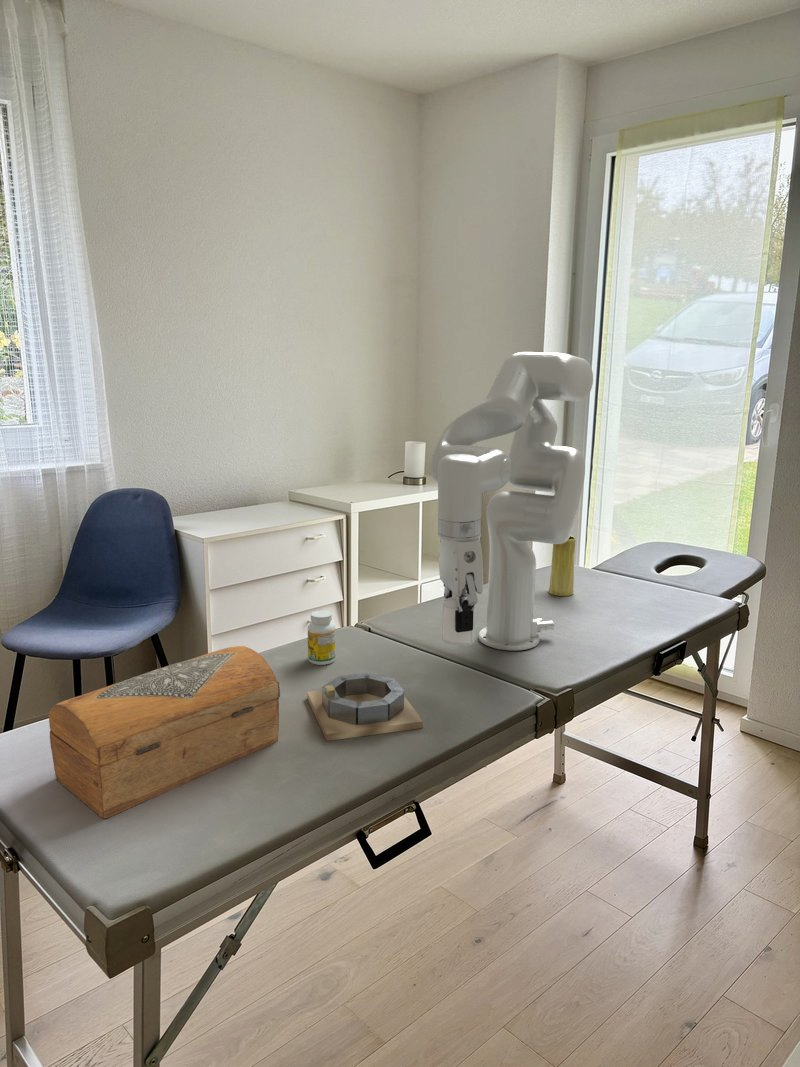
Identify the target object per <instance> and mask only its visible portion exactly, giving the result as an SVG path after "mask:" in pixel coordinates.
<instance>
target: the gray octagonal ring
mask: <svg viewBox="0 0 800 1067" xmlns="http://www.w3.org/2000/svg"><path fill="white" fill-rule="evenodd" d="M321 690H322V705H323V707H324V709H325V711H326V713H327V716H328V717H330V718H331V719H335V720H338V721H342V722H346V723H350V724H353V725H357V724H358V725H364V724H372V723H380V722H387V721H388V720H389V721H390V720H391V719H392V718H393V717H395V716H396V715H397V714H398V713H399V712H401V711H402V710H403V709H404V696H405V691H404V688H402V686H401V685H400V683H399V682H398V681H397V679H396V678H393V677H388V676H384V675H380V674H375V673H371V672H364V673H363V672H362V673H356V674H355V673H353V674H344V675H339V676H337V677H335V678H333V679H331V681H329V682H327V683H326V684H325V685H323V686H322V687H321ZM360 694H370V695H374V696H378V697H382V699H381V700H374V701H366V702H355V701H351V700H347V699H343V698H344V697H345V696H351V695H360Z"/></svg>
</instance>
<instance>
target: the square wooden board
mask: <svg viewBox="0 0 800 1067" xmlns="http://www.w3.org/2000/svg"><path fill="white" fill-rule="evenodd" d="M306 698H307V701H308V703H309V705H310V707H311V709H312V712H313V714H314V716H315V719H316V721H317V723H318V725H319V727H320V730H321V732H322V734H323V736H324V739H325V741H326V742H328V741H329V742H330V741H337V740H343V739H344V740H345V739H353V738H360V737H365V736H366V737H367V736H374V735H380V734H388V733H396V732H403V731H410V730H417V729H418V730H419V729H424V721H423V720H422V718H421V717H420V715H419V714H418V713H417V711H416V710H415V708H414V707H413V705H412V704H411V703H410V701H409V700H408V698H407V697H406V696H405V695H404V709H403V710H402V711H401V712H399V713H398V714H397V715H396V716H395V717H393V718H392V719H391V720H390V721H389V720H388V721H387V722H380V723H372V724H364V725H358V724H357V725H353V724H350V723H346V722H342V721H338V720H335V719H331V718H330V717H328V716H327V713H326V711H325V709H324V707H323V705H322V689H321V690H320V689H319V690H312V691H306ZM343 699H347V700H351V701H355V702H366V701H374V700H381V699H382V697H378V696H374V695H370V694H360V695H351V696H345V697H344V698H343Z"/></svg>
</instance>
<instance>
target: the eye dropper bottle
mask: <svg viewBox="0 0 800 1067" xmlns="http://www.w3.org/2000/svg"><path fill="white" fill-rule="evenodd" d="M465 592H467V591H466V590H462V593H465ZM466 599H467V597H462V602H463V601H464V600H466ZM455 610H457V598H456V594H455V593H453V592H452V597H450V598H448V599H444V601H443V603H442V642H443V643H445V644H447V645H452V646H456V647H457V646H460V647H468V646H469V647H470V646H472V645H473V644H474V642H475V636H476V632H475V630H476V629H475V628H476V625H475V624H476V622H475V621H476V604H475V605H474V611H473V630H472V631H466V632H459V633H458V632H456V631H455Z"/></svg>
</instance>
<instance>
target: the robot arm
mask: <svg viewBox="0 0 800 1067" xmlns="http://www.w3.org/2000/svg"><path fill="white" fill-rule="evenodd" d="M593 383H594V373H593V368H592V366H591V364H590V363H589V361H588V360H587V359H585V358H582V357H578V356H575V355H572V354H569V353H562V352H540V351H539V352H538V351H537V352H534V351H521V352H515V353H513V354H511V355H509V356H508V357H506V359H505V360H504V361H503V363H502V365H501V367H500V369H499V371H498V373H497V375H496V377H495V379H494V381H493V383H492V385H491V387H490V389H489V391H488V393H487V394H486V397H485V399H484V400H483V401H482V402H481V403H480V404H477V405H475V406H473V407H471V408H469V409H468V410H467V411H465V412H463V413H462V414H460V415H459V416H457V417H456V418H455V419H453V420H452V421H451V422H450V423H449V424H448V425H447V426H446V427H445V428H444V431H443V432H442V433H441V435H440V437H439V439H438V441H437V443H436V445H435V447H434V450H433V452H432V455H431V458H430V459H431V460H430V466H429V469H430V470H429V471H430V474H431V477H432V479H433V480H434V481H435V482H436V483H437V537H439V538H440V542H439V543H440V544H439V552H438V553H439V555H438V556H439V560H438V561H439V562H438V563H439V564H438V569H439V572H438V574H439V578H440V580H441V582H442V583H443V587H444V590H443V597H444V600H446V599H448V598H450V597H452V592H453V593H455V594H456V598H457V610H455V631H456V632H458V633H459V632H466V631H472V630H473V611H474V605H475V606H476V604H477V603H478V602H479V599H478V594H479V595H480V594H483V592H484V568H483V567H484V566H483V565H484V563H483V551H482V545H481V544H482V543H481V539H480V538H481V537H482V529H483V528H482V526H483V525H482V524H483V523H482V522H483V521H482V520H483V518H482V517H483V493H489V492H495V491H499V490H500V489H502V488H503V487H504V486H506V484H507V483H508V484H509V486H511V487H514V488H516V489H521V490H525V492H524V491H516V490H515V491H514V490H511V491H509V490H507V491H500V492H498V493H496V494H494V495H493V496H491V498H490V499H489V501H488V502H487V507H486V523H487V529H488V539H489V560H488V561H489V565H488V566H489V567H488V585H487V586H488V587H487V588H488V591H487V607H486V608H487V614H486V626H485V627H483V628H482V629H480V631H479V633H478V639H479V640H478V641H479V642H481V643H482V644H484V645H486V646H487V647H489V648H493V649H496V650H502V651H512V652H513V651H524V650H529V649H532V648H534V647H536V646H538V645H539V643H540V634H539V633H541V631H552V630H554V629H555V623H554V621H553V620H545V621H544V620H543V618H534V607H535V592H536V572H537V558H536V555H535V552H534V550H533V548H532V547H531V544H530V543H529V542H535V543H543V544H550V545H553V544H562V543H565V542H566V541H567V540H568V539H569V537H570V536H572V532H573V529H574V527H575V522H576V517H577V513H578V508H579V504H580V500H581V495H582V491H583V487H584V481H585V476H586V475H585V474H586V462H585V458H584V455H583V454H582V452H581V451H580V450H579V449H577V448H576V447H575V448H574V447H570V446H565V445H564V446H563V445H555V442H556V438H557V433H558V424H557V421H556V419H555V417H554V415H553V414H552V413H551V411H550V410H549V408H548V407H547V406H546V404H545V403H544V400H545V401H564V402H582V401H583V400H586V398H587V397H588V396H589V394H591V391H592V388H593ZM513 432H514V433H513ZM511 433H513V438H512V443H511V445H510V449H509V454H507V452H505V451H503V450H502V449H500V448H499V449H498V448H495V447H486V446H484V447H483V446H477V445H474V444H477V443H480V442H483V441H487V440H489V439H490V440H491V439H494V438H498V437H502V436H505V435H509V434H511ZM527 490H528V491H534V492H535V491H536V492H544V493H552V494H553V493H554V495H552V494H551V495H549V494H543V493H542V494H541V493H532V492H526V491H527ZM462 590H466V592H465V593H462ZM462 597H466V598H467V599H466V600H464V601H463V602H462Z"/></svg>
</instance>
